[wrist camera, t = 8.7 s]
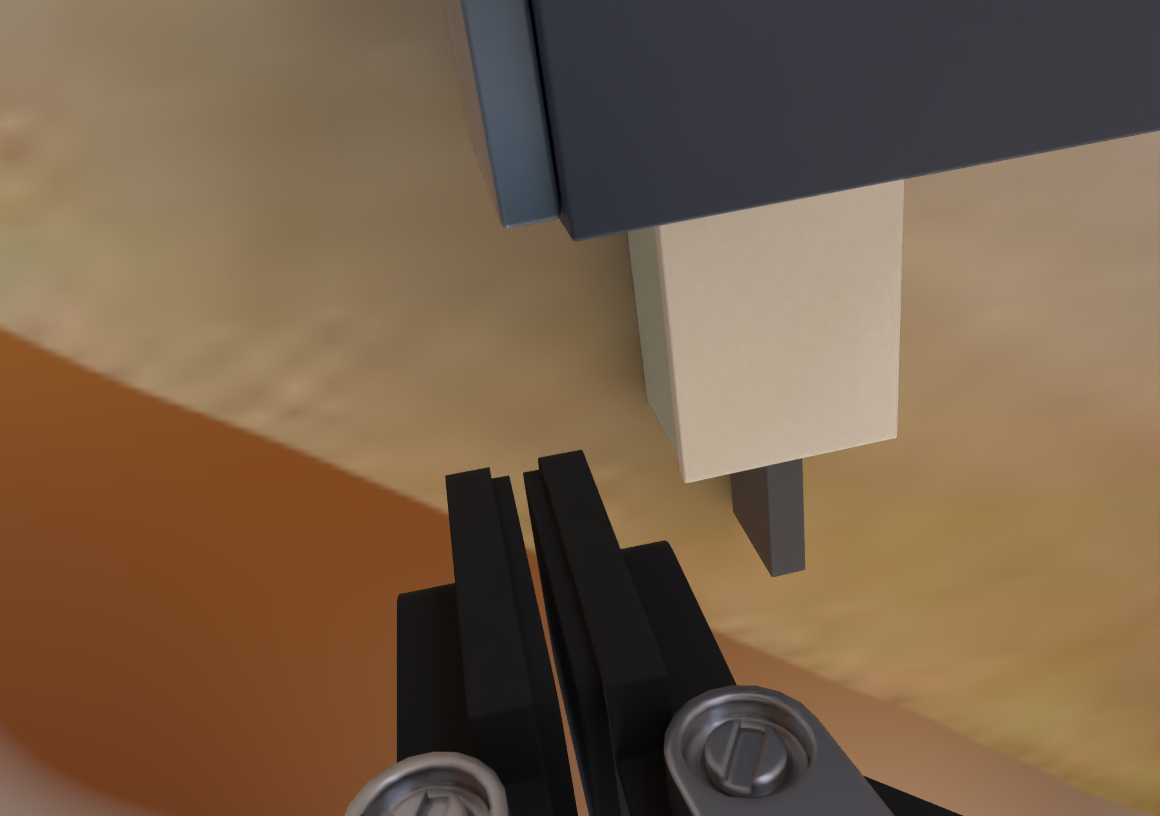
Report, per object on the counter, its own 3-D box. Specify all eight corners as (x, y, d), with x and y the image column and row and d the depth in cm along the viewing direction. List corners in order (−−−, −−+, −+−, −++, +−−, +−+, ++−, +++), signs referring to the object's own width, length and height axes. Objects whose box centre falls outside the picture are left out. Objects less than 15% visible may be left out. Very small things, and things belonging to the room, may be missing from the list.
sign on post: (614, 168, 28) (657, 212, 23) (822, 130, 28) (905, 165, 24) (656, 520, 34) (697, 610, 29) (827, 482, 35) (894, 565, 30)
